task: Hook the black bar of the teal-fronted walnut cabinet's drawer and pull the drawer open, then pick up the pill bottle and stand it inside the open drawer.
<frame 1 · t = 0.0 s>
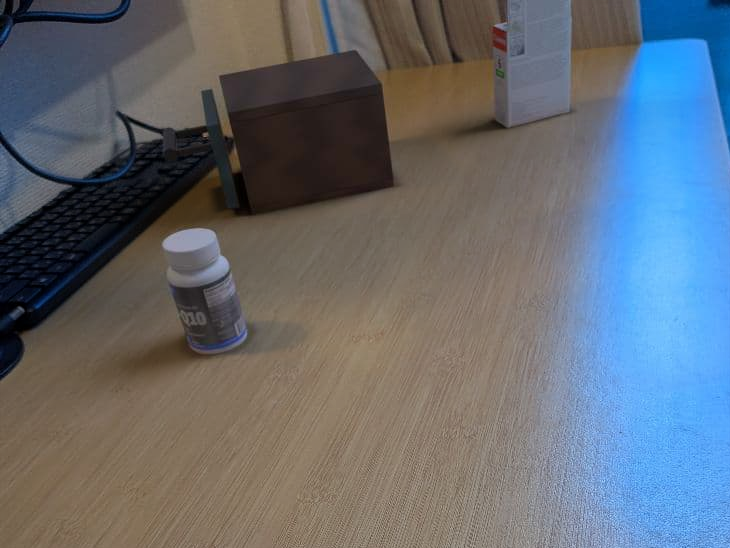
pill bottle: (219, 342, 66), on the table
drawer: (255, 140, 85), point 5 cm above the table, slide at 1.0 cm
ink box: (532, 120, 95), on the table
cabinet: (314, 179, 89), on the table
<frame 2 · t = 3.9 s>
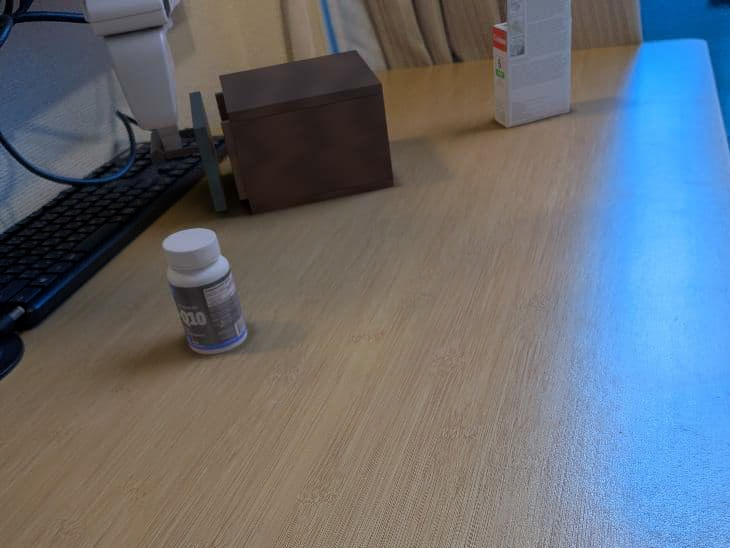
hand: (174, 149, 84), 6 cm above the table, tool pointing down, fingers closed
drawer: (243, 143, 85), point 5 cm above the table, slide at 2.3 cm, touching gripper
everything else where it was.
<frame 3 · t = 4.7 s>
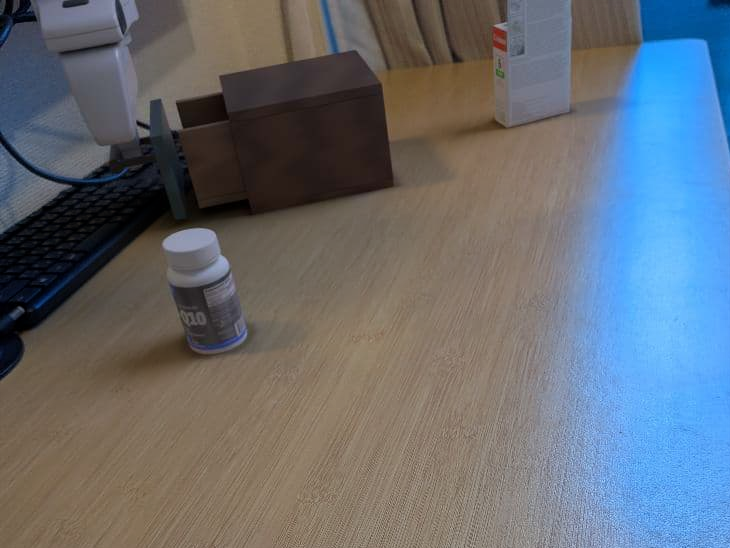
hand: (136, 163, 84), 5 cm above the table, tool pointing down, fingers closed, pressing on drawer
drawer: (204, 150, 84), point 5 cm above the table, slide at 6.4 cm, touching gripper
everything else where it was.
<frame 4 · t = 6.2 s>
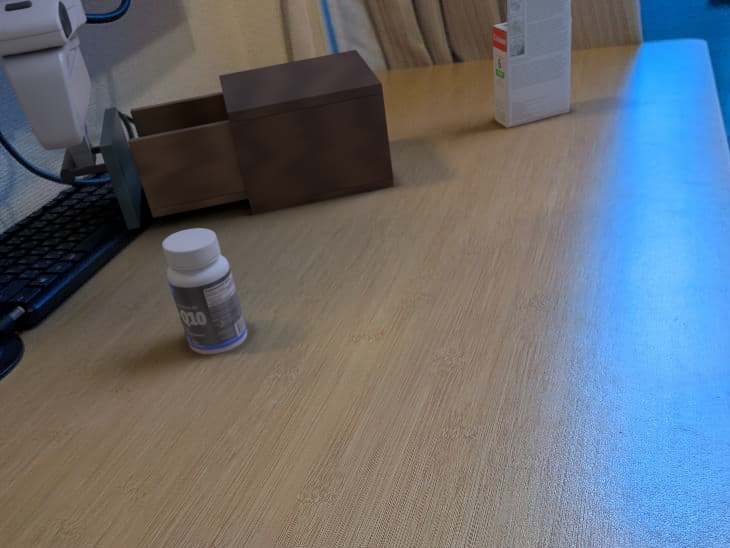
hand: (88, 167, 83), 5 cm above the table, tool pointing down, fingers closed
drawer: (158, 159, 84), point 5 cm above the table, slide at 11.1 cm, touching gripper
everything else where it was.
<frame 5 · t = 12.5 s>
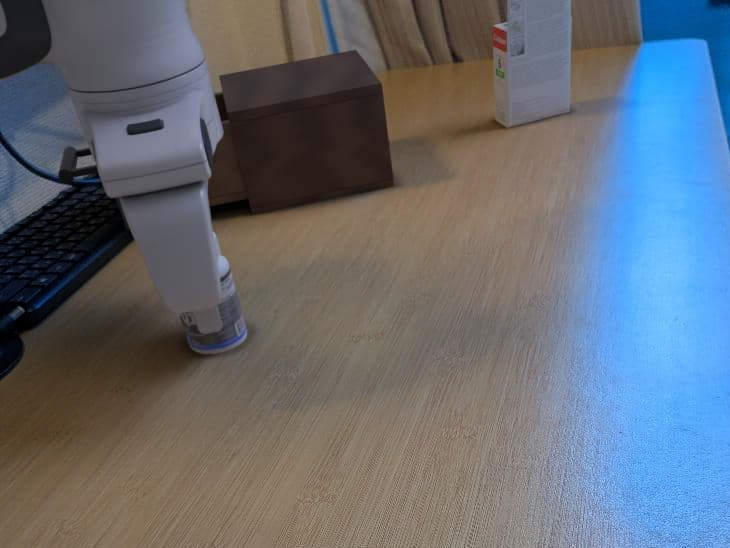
hand: (209, 310, 64), 3 cm above the table, tool pointing down, fingers closed on pill bottle, 5 cm apart
pill bottle: (219, 342, 66), on the table, touching gripper
drawer: (157, 160, 84), point 5 cm above the table, slide at 11.3 cm
everything else where it was.
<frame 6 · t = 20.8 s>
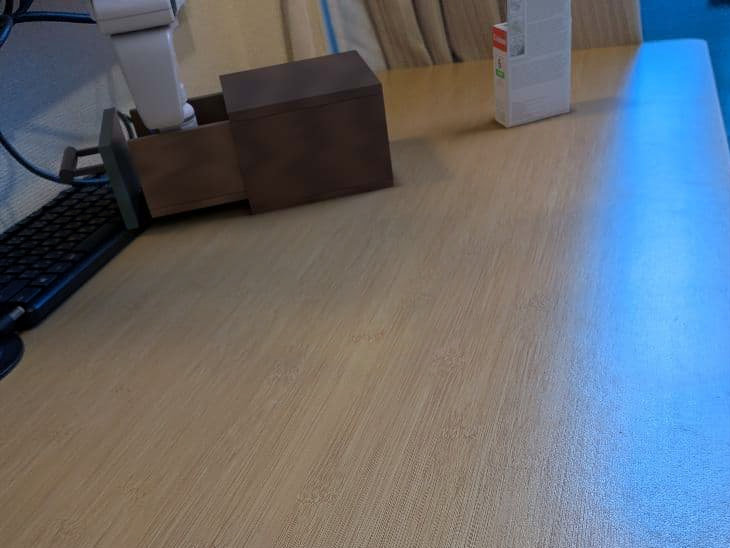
hand: (178, 148, 84), 6 cm above the table, tool pointing down, fingers closed on pill bottle, 5 cm apart
pill bottle: (188, 177, 86), point 3 cm above the table, touching gripper
everything else where it was.
when the fingers open (8 cm above the table, at t = 25.1 s): pill bottle stays where it is, resting on drawer.
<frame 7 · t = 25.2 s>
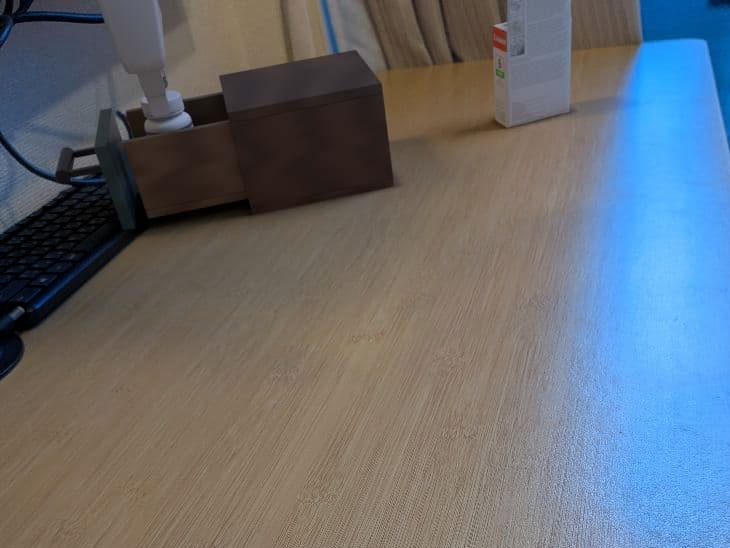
hand: (160, 100, 81), 10 cm above the table, tool pointing down, fingers open, 8 cm apart
pill bottle: (186, 185, 86), point 2 cm above the table, touching drawer
drawer: (153, 160, 84), point 5 cm above the table, slide at 11.6 cm, touching pill bottle
everything else where it was.
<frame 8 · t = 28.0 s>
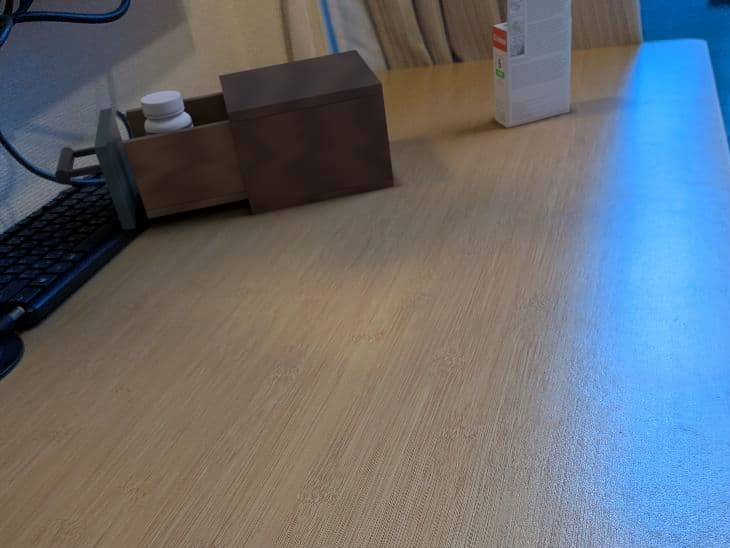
nothing on the table moved.
at the end: drawer slide at 11.6 cm; pill bottle inside the target area in the drawer (0.7 cm from its centre), point 1.9 cm above the cabinet's base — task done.
